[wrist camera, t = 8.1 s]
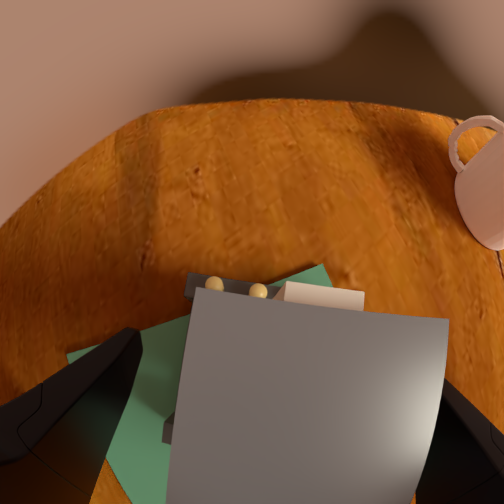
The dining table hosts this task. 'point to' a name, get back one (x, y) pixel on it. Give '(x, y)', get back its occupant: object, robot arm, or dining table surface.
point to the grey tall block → (304, 400)
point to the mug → (481, 184)
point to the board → (159, 404)
